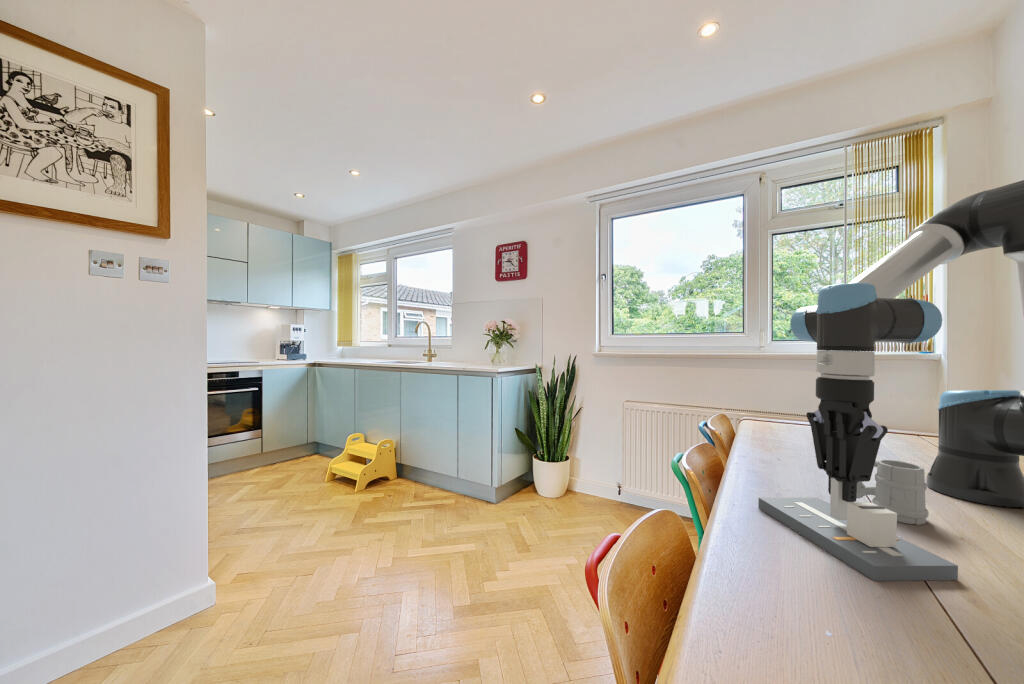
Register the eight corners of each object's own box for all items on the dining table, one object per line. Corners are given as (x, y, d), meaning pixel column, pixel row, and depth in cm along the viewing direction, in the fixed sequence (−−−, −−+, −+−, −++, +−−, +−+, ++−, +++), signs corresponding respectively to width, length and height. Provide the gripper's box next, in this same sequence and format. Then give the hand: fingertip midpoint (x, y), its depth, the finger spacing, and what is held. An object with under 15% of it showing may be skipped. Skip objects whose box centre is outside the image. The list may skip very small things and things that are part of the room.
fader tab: (871, 534, 64) (871, 501, 64) (896, 546, 60) (897, 512, 60) (846, 534, 64) (847, 501, 63) (870, 547, 60) (871, 512, 60)
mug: (918, 529, 71) (920, 461, 71) (839, 504, 81) (840, 445, 81) (935, 520, 74) (937, 456, 74) (857, 498, 85) (858, 441, 85)
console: (817, 507, 79) (817, 497, 79) (957, 580, 55) (958, 564, 55) (758, 507, 79) (758, 496, 79) (874, 580, 55) (874, 565, 55)
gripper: (793, 373, 73) (790, 502, 73) (858, 380, 60) (856, 537, 60) (832, 374, 74) (829, 502, 74) (905, 381, 61) (903, 536, 61)
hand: (841, 517), depth 67 cm, fingers closed
